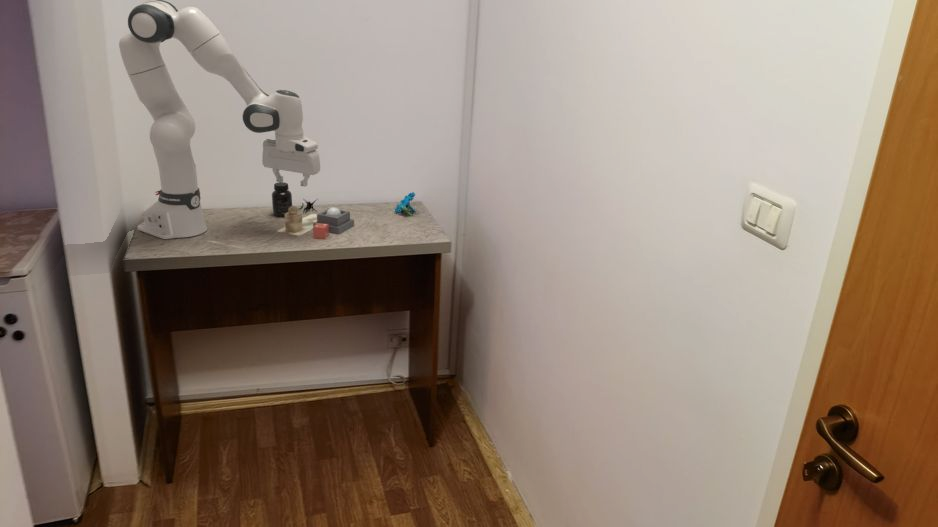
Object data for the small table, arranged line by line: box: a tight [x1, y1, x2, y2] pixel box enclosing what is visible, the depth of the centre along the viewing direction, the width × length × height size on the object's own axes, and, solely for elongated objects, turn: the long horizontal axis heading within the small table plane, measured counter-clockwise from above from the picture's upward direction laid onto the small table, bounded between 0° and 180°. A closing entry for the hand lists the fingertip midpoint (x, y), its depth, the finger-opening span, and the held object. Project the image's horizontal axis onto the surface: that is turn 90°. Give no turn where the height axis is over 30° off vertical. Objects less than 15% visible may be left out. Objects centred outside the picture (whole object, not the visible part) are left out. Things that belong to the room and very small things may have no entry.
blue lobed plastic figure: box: [394, 191, 416, 217], centre depth 265 cm, size 11×6×10 cm
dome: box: [326, 206, 341, 217], centre depth 243 cm, size 5×5×5 cm
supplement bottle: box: [271, 181, 293, 218], centre depth 253 cm, size 7×7×12 cm
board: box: [277, 213, 317, 237], centre depth 245 cm, size 20×21×1 cm
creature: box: [297, 198, 319, 215], centre depth 259 cm, size 8×5×8 cm
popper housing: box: [313, 207, 355, 235], centre depth 244 cm, size 10×10×6 cm
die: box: [312, 223, 330, 240], centre depth 235 cm, size 4×4×4 cm
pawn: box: [284, 205, 303, 233], centre depth 239 cm, size 4×4×8 cm
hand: (291, 183), depth 234 cm, fingers open, 8 cm apart
